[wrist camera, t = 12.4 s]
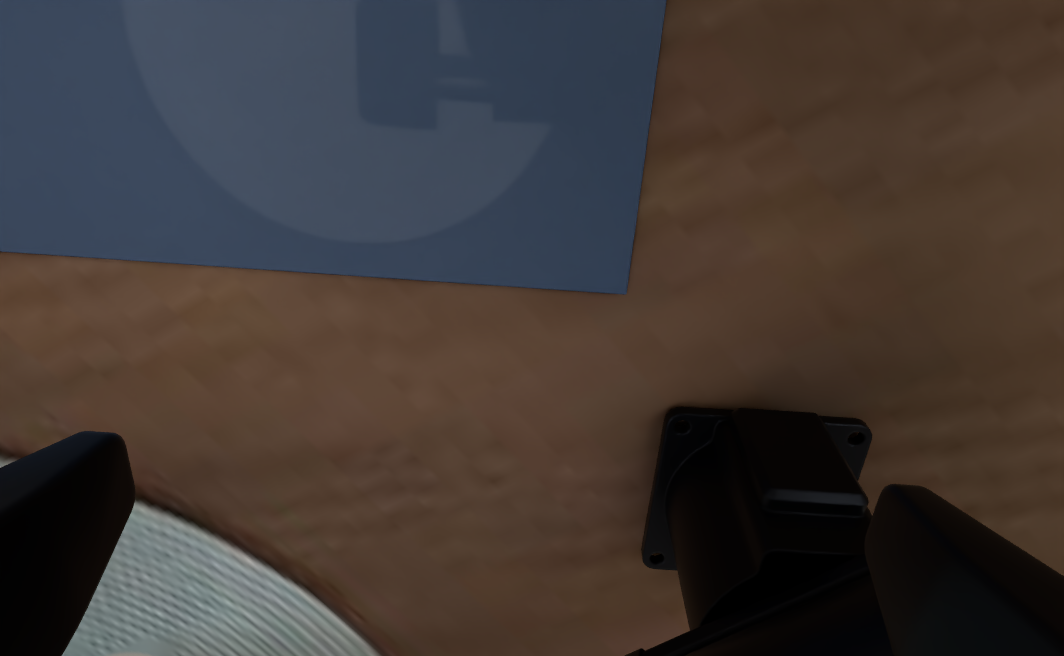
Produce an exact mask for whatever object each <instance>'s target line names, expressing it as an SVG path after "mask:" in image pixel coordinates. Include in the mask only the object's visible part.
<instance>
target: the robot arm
mask: <svg viewBox="0 0 1064 656" xmlns="http://www.w3.org/2000/svg"><path fill="white" fill-rule="evenodd" d="M681 420H684V421H687V423H686V424H685V425H684V426H680V427H678V426H675V423H677V422H678V421H681ZM854 432H859V433H858V435H857V436H855V437H853V438H848V437H849V435H850V434H852V433H854ZM871 440H872V433H871V431H870V429H869V428H868V426H867V425H866V423H865V422H863V421H862V420H860V419H856V418H843V417H829V416H818V415H817V414H816V413H808V412H793V411H778V410H763V409H748V408H740V409H737V410H724V409H709V408H694V407H676V408H674V409H671V410H670V411H669V412H668V413H667V414H666V416H665V419H664V424H663V429H662V435H661V441H660V446H659V452H658V458H657V463H656V469H655V475H654V480H653V486H652V492H651V497H650V503H649V508H648V514H647V520H646V525H645V531H644V537H643V542H642V548H641V551H642V559H643V562H644V564H645V565H646V566H647V567H649V568H653V569H663V570H677V571H678V576H679V580H680V585H681V590H682V595H683V600H684V604H685V609H686V614H687V619H688V623H689V628H690V631H689V632H686V633H684V634H682V635H680V636H677V637H675V638H673V639H671V640H668V641H666V642H664V643H662V644H659V645H657V646H655V647H653V648H650V649H648V650H646V651H645V650H643V649H642V648H641V649H638V650H636V651H634V652H632V653H629V654H627V655H625V656H1064V576H1063V575H1061V574H1059V573H1058V572H1056V571H1055V570H1053V569H1052V568H1050V567H1049V566H1047V565H1045V564H1044V563H1042V562H1041V561H1039V560H1038V559H1036V558H1035V557H1033V556H1031V555H1030V554H1028V553H1027V552H1025V551H1024V550H1022V549H1020V548H1019V547H1017V546H1016V545H1014V544H1013V543H1011V542H1010V541H1008V540H1006V539H1005V538H1003V537H1002V536H1000V535H999V534H997V533H996V532H994V531H992V530H991V529H989V528H988V527H986V526H985V525H983V524H982V523H980V522H978V521H977V520H975V519H974V518H972V517H971V516H969V515H968V514H966V513H964V512H963V511H961V510H960V509H958V508H957V507H955V506H953V505H952V504H950V503H949V502H947V501H946V500H944V499H943V498H941V497H939V496H938V495H936V494H935V493H933V492H932V491H930V490H929V489H927V488H925V487H922V486H916V485H901V484H890V485H888V486H886V487H885V488H884V489H883V490H882V492H881V494H880V496H879V499H878V502H877V505H876V508H875V510H874V513H873V516H872V514H871V513H870V511H869V509H868V507H867V505H868V503H869V501H868V498H867V496H866V494H865V493H864V491H863V489H862V487H861V486H860V484H859V482H858V479H859V476H860V473H861V470H862V467H863V464H864V461H865V458H866V455H867V452H868V449H869V446H870V443H871ZM134 502H135V485H134V480H133V476H132V471H131V467H130V462H129V458H128V453H127V449H126V445H125V442H124V440H123V438H122V437H121V436H120V435H118V434H116V433H109V432H94V431H83V432H79V433H77V434H74V435H72V436H70V437H68V438H66V439H63V440H61V441H59V442H57V443H54V444H52V445H50V446H48V447H46V448H43V449H41V450H39V451H37V452H35V453H32V454H30V455H28V456H26V457H23V458H21V459H19V460H17V461H15V462H12V463H10V464H8V465H6V466H3V467H1V468H0V656H62V654H63V653H64V651H65V649H66V648H67V646H68V644H69V642H70V640H71V639H72V637H73V635H74V633H75V631H76V630H77V628H78V626H79V624H80V622H81V620H82V618H83V616H84V614H85V612H86V610H87V608H88V606H89V604H90V601H91V599H92V597H93V595H94V593H95V591H96V588H97V586H98V584H99V582H100V580H101V577H102V575H103V573H104V571H105V569H106V566H107V564H108V562H109V560H110V558H111V555H112V553H113V551H114V549H115V547H116V544H117V542H118V540H119V538H120V536H121V534H122V531H123V529H124V527H125V525H126V523H127V520H128V518H129V516H130V514H131V512H132V509H133V506H134ZM654 553H661V554H659V555H655V556H654V555H652V554H654Z"/></svg>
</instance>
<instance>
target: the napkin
mask: <svg viewBox="0 0 1064 656" xmlns="http://www.w3.org/2000/svg"><path fill="white" fill-rule="evenodd" d="M665 8H666V0H0V251H1V252H16V253H30V254H45V255H59V256H74V257H88V258H103V259H117V260H132V261H146V262H161V263H175V264H190V265H204V266H219V267H234V268H248V269H263V270H277V271H292V272H306V273H321V274H335V275H350V276H364V277H379V278H393V279H408V280H422V281H437V282H452V283H466V284H481V285H495V286H510V287H524V288H539V289H553V290H568V291H582V292H597V293H611V294H626V293H627V286H628V279H629V271H630V264H631V257H632V249H633V242H634V235H635V227H636V220H637V213H638V205H639V198H640V191H641V183H642V176H643V169H644V161H645V154H646V147H647V140H648V132H649V125H650V118H651V110H652V103H653V96H654V88H655V81H656V74H657V66H658V59H659V52H660V44H661V37H662V30H663V22H664V15H665Z"/></svg>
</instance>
